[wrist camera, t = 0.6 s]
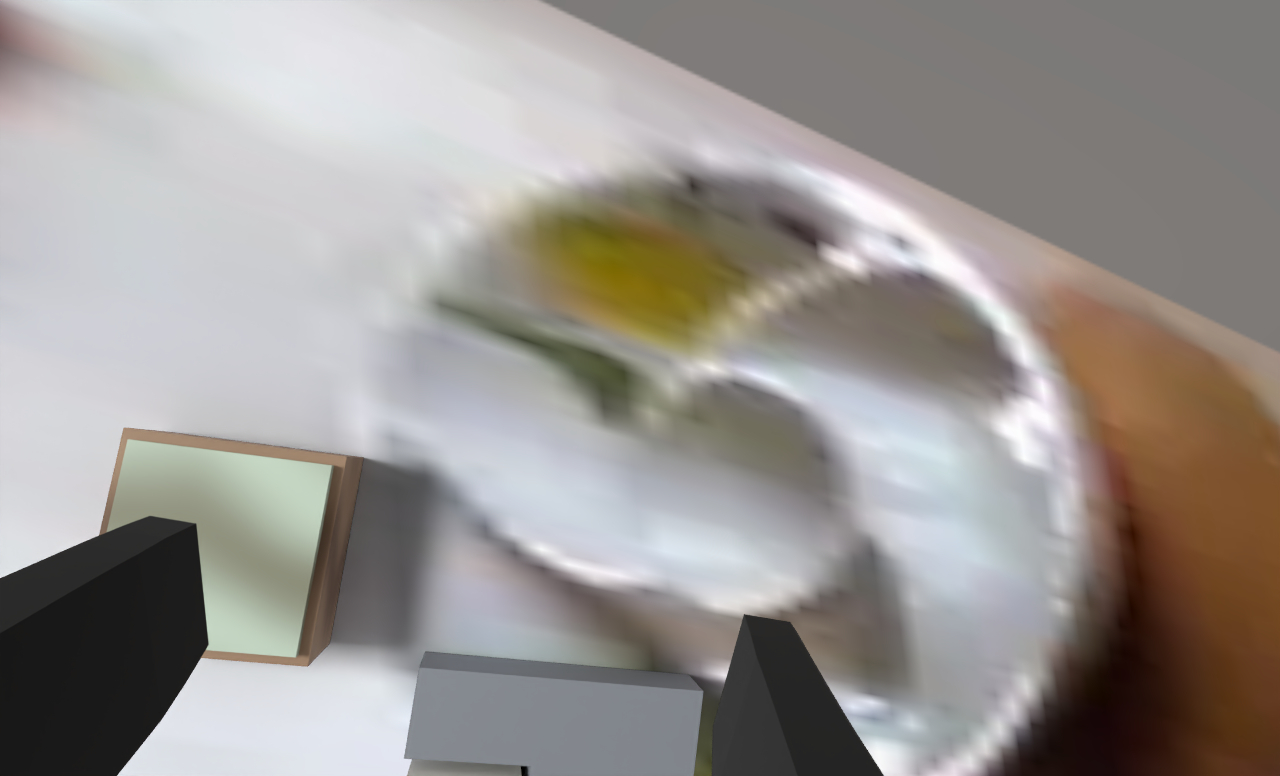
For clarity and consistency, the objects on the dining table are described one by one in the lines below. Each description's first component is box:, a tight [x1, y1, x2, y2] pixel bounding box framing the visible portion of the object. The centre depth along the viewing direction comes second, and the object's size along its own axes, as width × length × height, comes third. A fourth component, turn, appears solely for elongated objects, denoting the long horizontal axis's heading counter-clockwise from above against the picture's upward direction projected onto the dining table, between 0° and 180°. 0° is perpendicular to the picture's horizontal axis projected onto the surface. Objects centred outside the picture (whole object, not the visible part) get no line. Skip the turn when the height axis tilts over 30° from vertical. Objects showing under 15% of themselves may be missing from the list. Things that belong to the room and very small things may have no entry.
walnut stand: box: [99, 428, 364, 667], centre depth 29 cm, size 8×8×4 cm
